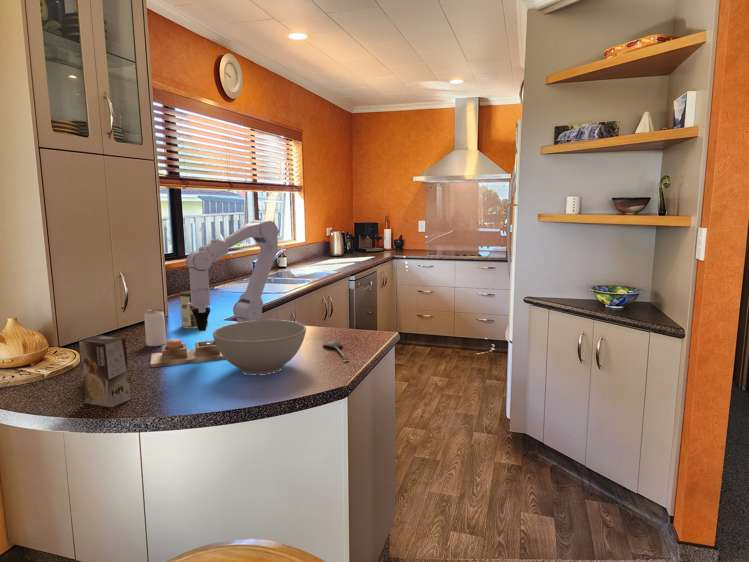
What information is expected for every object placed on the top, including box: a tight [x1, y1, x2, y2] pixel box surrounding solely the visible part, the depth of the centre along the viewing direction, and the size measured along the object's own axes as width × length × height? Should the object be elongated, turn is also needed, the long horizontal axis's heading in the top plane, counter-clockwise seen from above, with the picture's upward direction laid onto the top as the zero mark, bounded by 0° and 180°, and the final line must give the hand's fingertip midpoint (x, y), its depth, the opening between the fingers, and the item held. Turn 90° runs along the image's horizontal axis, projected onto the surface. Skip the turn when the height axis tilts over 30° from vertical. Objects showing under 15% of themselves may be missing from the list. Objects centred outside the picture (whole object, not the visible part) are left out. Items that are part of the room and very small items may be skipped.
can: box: [143, 309, 167, 347], centre depth 182 cm, size 6×6×12 cm
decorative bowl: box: [212, 319, 307, 376], centre depth 153 cm, size 27×27×12 cm
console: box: [149, 339, 226, 368], centre depth 167 cm, size 24×12×4 cm, turn 111°
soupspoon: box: [322, 340, 349, 360], centre depth 171 cm, size 22×3×7 cm
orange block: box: [166, 338, 182, 350], centre depth 164 cm, size 4×4×3 cm
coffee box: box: [78, 334, 131, 408], centre depth 129 cm, size 9×6×16 cm
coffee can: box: [178, 289, 209, 329], centre depth 210 cm, size 10×10×14 cm
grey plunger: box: [200, 340, 214, 346], centre depth 168 cm, size 4×4×3 cm
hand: (202, 330), depth 167 cm, fingers closed
